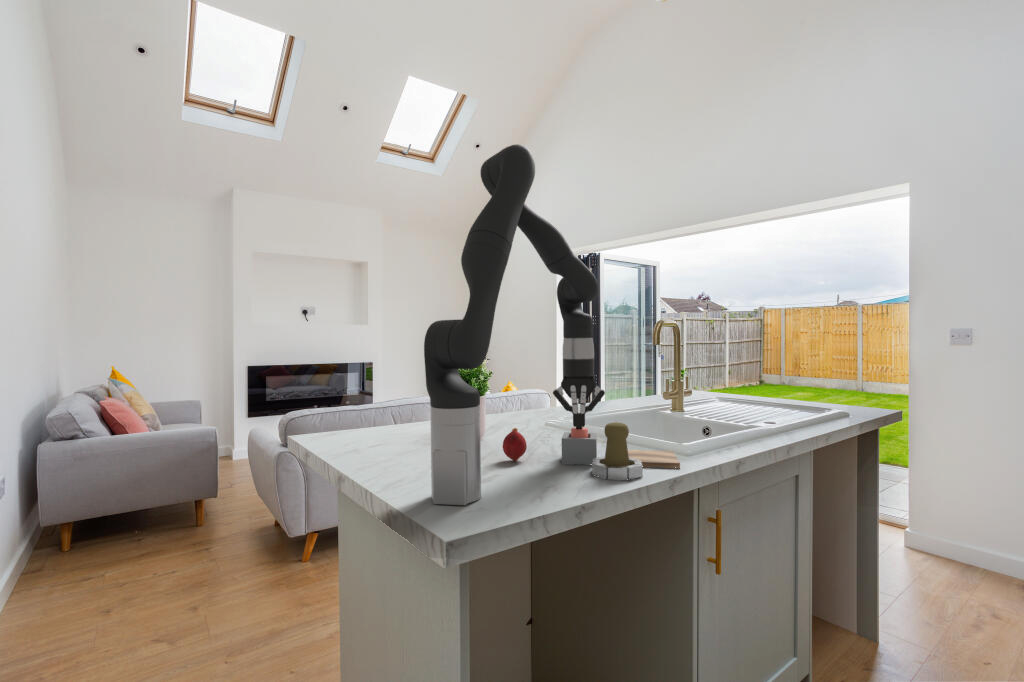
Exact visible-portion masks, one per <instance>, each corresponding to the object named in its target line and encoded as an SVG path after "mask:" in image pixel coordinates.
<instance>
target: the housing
mask: <svg viewBox="0 0 1024 682" xmlns="http://www.w3.org/2000/svg"><path fill="white" fill-rule="evenodd" d="M597 435H598V434H597V432H588V438H571V431H568V432H565V431H564V432H563V434H562V437H561V465H574V464H592V461H593V459H594V458H598V456H597V455H598V452H597V451H598V449H597V443H598V441H597V439H598V437H597Z"/></svg>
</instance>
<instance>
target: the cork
mask: <svg viewBox="0 0 1024 682" xmlns="http://www.w3.org/2000/svg"><path fill="white" fill-rule="evenodd" d="M629 433H630V429H629V427H628V425H627V424H626V423H623V422H617V421H615V422H609V423H607V424H606V425H605V426H604V436H605V437H606V438H607V439H606V445H605V446H606V447H605V454H604V456H605V461H604V465H608V466H624V467H625V466H630V463H629V456H628V450H629V448H628V442H627V439H628V437H629Z"/></svg>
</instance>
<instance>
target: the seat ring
mask: <svg viewBox="0 0 1024 682" xmlns="http://www.w3.org/2000/svg"><path fill="white" fill-rule="evenodd" d="M604 461H605V455H604V456H600V457H597V458H594V459H593V461H592V465H591V466H592V467H591V468H592V472H591V473H592V474H593V475H595V476H594V477H597V476H599V477H598V478H600V477H602V478H601V479H603V478H605V479H604V480H608V479H612V480H611V481H631V480H630V479H633V480H636V479H635V478H637V479H639V478H638V477H641V478H643V477H642V476H644V475H643V472H644V471H643V467H642V462H641V461H640V460H638V459H634V458H630V457H629V463H630V466H625V467H624V466H608V465H604ZM593 475H592V476H593ZM613 479H615V480H613ZM627 479H629V480H627Z"/></svg>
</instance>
